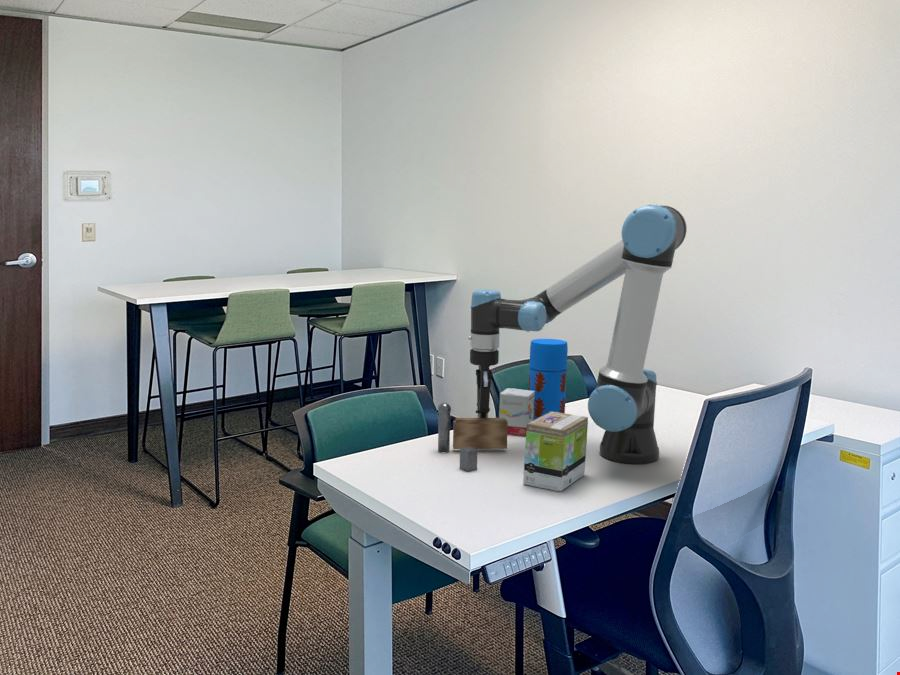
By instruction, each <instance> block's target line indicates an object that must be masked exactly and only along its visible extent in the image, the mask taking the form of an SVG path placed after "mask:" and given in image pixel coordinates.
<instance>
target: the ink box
mask: <svg viewBox="0 0 900 675" xmlns="http://www.w3.org/2000/svg"><path fill="white" fill-rule="evenodd" d="M534 397H535V391H530V390H529V389H521V388H520V389H519V388H513V387H512V388H511V387H510V388H509V387H507V388H505V389H504V390H503V391H501V392H500V393H499V406H498V408H499V410H498V418H505V419H506V420H507V422H508V430H507V435H508V434H512V435H511V436H517V435H518V437H526V429H527V423H529V422H531V421H533V415H534Z"/></svg>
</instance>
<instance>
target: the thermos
mask: <svg viewBox="0 0 900 675" xmlns="http://www.w3.org/2000/svg"><path fill="white" fill-rule="evenodd" d="M568 346H569V345H568V341H566V340H563V339H555V338H536V339H531V340H530V346H529V369H528V370H529V371H528V390H530V391H535V397H534V415H533V420H535V419H537V418H539V417H541V416H543V415H545V414H547V413H549V412H551V411H552V412H559V413H565V414H566V396H567V394H566V393H567V375H568V374H567V370H568V350H569V349H568Z"/></svg>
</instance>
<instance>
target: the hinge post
mask: <svg viewBox="0 0 900 675" xmlns="http://www.w3.org/2000/svg"><path fill="white" fill-rule="evenodd" d="M437 411H438V423H437V425H438V426H437V427H438V429H437V430H438V434H437V440H438V441H437V452H438V451H439V452H438V453H441V452H447V453H450V442H451V433H450V432H451V412H452V407H451V405H450V403H447V402H442V403H440V404H439V405H438V406H437Z"/></svg>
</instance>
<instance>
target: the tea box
mask: <svg viewBox="0 0 900 675" xmlns="http://www.w3.org/2000/svg"><path fill="white" fill-rule="evenodd" d="M588 425H589V417H588V416H584V415H579V414H578V415H577V414H569V413H566V412H565V413H559V412H552V411H551V412H549V413H547V414H545V415H543V416H541V417H539V418H537V419H535V420H533V421H531V422H529V423H527V429H526V436H525V444H524V445H525V446H524V460H523V461H524V464H523V467H524V469H523V479H522V481H523V482H522V484H524V485H527V486H531V487H535V488H540V489H545V490H549V489H550V490H551V491H555V492H562V491H563V490H564V489H566V488H568V487H569V486H571V485H572V484H573V483H574V482H576V481H577V480H578V479H580V478H581V477H583V476H584V475H585V470H586V460H587V459H586V456H587V441H588ZM550 490H549V491H550Z"/></svg>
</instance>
